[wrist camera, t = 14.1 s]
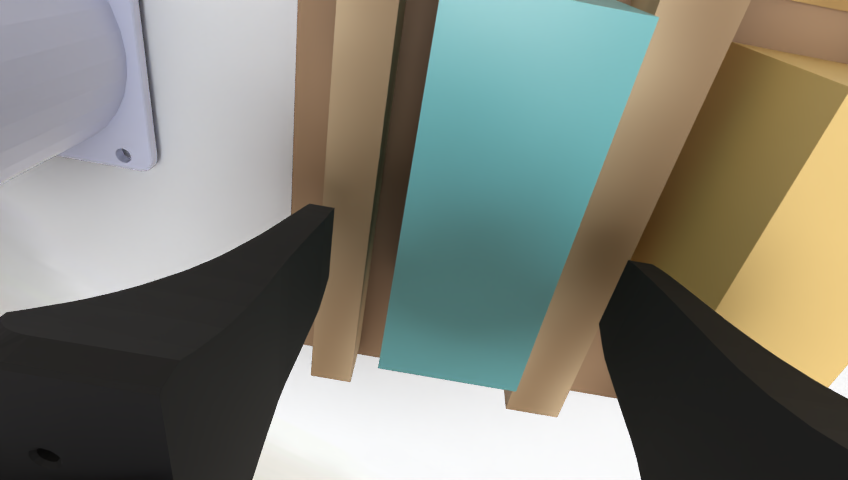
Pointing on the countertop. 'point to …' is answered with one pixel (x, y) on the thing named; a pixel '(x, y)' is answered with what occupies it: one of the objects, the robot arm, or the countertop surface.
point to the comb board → (395, 142)
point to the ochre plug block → (765, 206)
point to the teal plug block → (504, 177)
